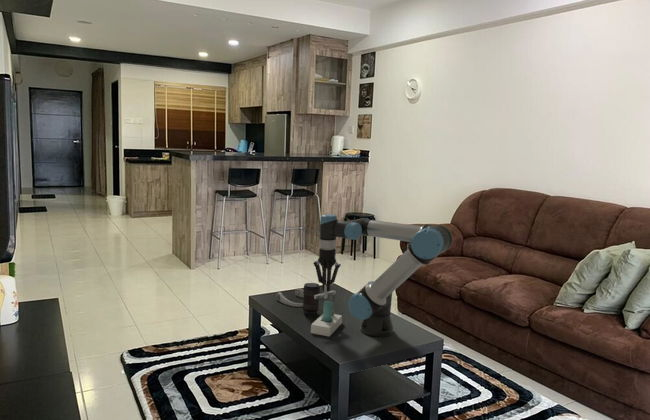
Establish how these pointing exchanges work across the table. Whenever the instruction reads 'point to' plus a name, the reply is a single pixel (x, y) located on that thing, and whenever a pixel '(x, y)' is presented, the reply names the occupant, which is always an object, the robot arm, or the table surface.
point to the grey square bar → (323, 294)
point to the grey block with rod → (327, 323)
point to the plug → (327, 311)
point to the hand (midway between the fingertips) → (325, 297)
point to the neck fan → (284, 300)
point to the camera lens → (310, 298)
